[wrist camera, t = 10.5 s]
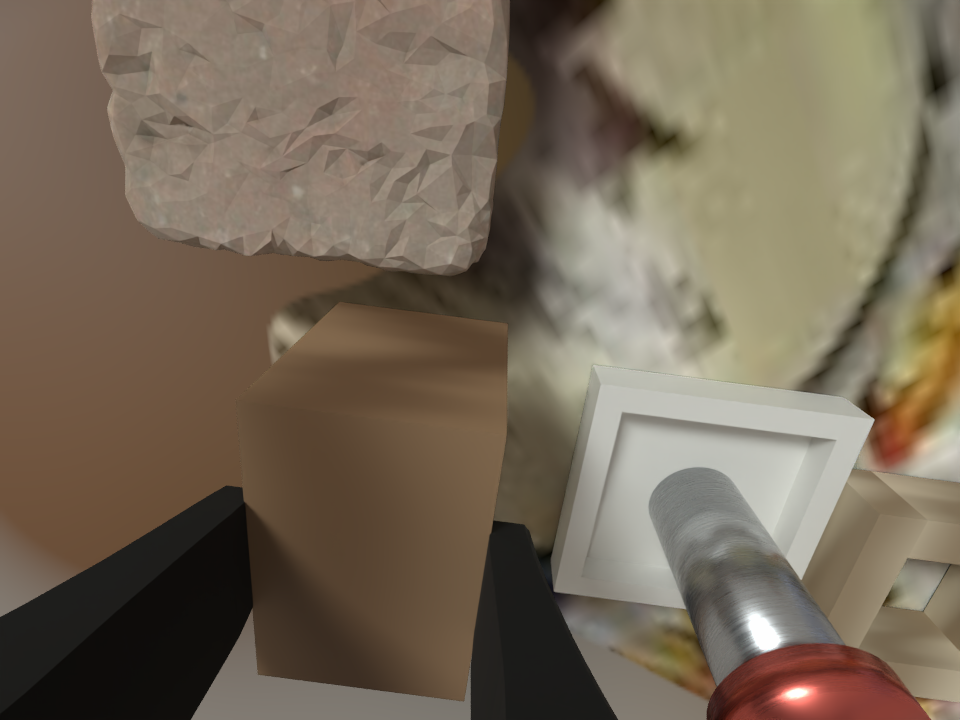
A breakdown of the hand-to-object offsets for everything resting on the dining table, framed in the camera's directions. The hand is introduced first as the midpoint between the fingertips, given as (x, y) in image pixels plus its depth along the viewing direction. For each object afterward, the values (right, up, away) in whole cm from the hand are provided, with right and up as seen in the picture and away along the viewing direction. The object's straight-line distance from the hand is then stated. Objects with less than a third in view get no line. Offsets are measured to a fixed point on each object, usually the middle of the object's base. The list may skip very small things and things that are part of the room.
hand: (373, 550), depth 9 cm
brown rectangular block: (0, +2, +4) cm, 5 cm away
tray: (+9, -1, +9) cm, 12 cm away
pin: (+9, -1, +8) cm, 12 cm away
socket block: (+17, -4, +9) cm, 19 cm away
